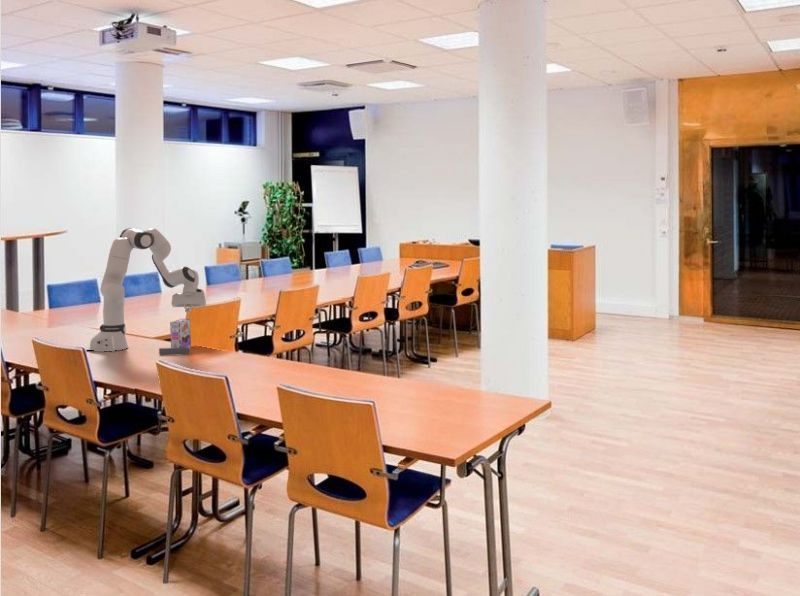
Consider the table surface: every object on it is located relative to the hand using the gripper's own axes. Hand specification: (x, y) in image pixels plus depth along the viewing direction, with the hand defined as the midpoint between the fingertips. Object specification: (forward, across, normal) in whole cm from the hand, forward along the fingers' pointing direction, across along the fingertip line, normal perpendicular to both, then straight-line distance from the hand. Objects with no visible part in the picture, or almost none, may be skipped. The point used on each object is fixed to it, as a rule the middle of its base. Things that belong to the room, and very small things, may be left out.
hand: (187, 311), depth 447 cm
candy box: (+30, 0, -4) cm, 30 cm away
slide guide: (+35, 0, -11) cm, 37 cm away
